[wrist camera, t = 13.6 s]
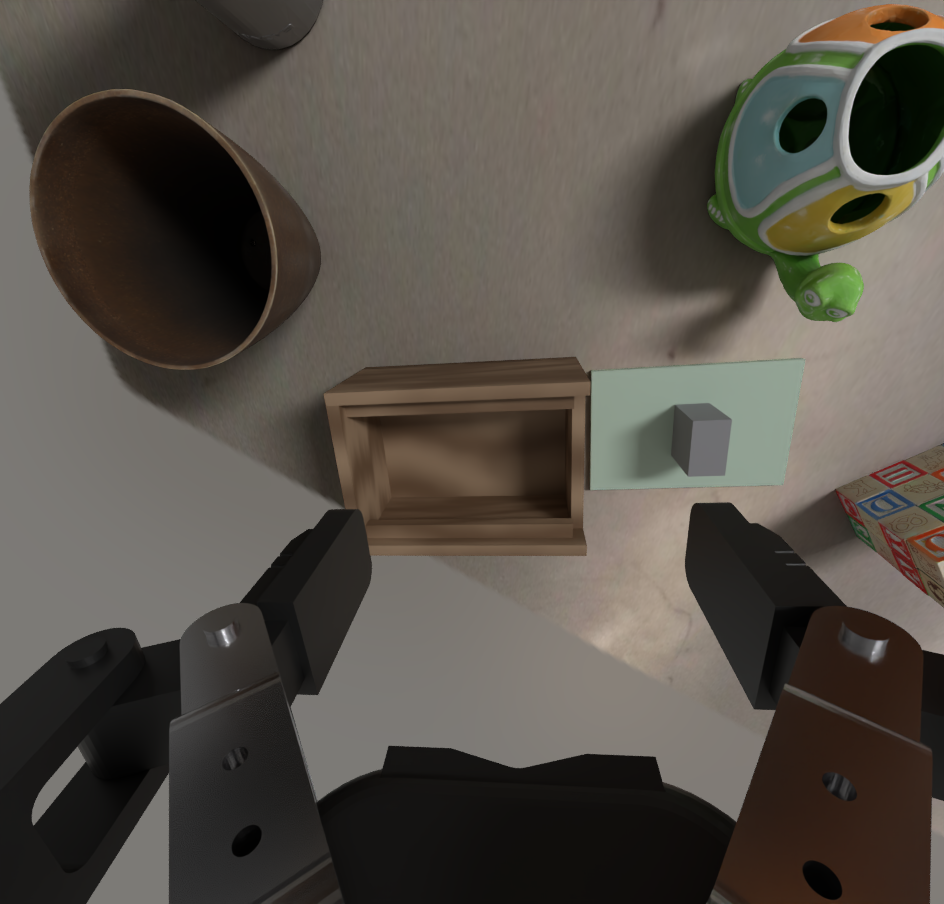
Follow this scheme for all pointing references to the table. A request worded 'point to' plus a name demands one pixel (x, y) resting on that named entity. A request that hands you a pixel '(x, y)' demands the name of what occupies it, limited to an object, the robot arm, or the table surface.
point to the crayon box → (465, 456)
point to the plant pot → (166, 231)
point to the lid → (693, 424)
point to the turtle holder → (833, 147)
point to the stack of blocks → (904, 517)
